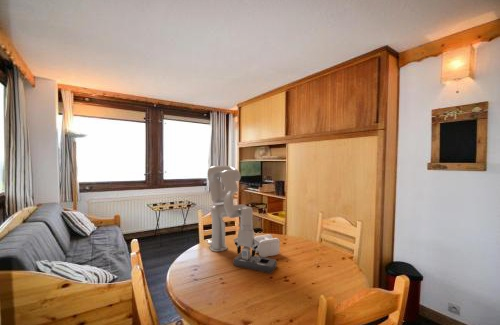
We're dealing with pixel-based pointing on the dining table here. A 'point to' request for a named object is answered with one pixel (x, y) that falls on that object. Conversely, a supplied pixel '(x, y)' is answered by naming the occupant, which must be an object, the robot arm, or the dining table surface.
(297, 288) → the dining table surface
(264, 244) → the cable organizer
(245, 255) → the plug
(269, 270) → the jack panel
